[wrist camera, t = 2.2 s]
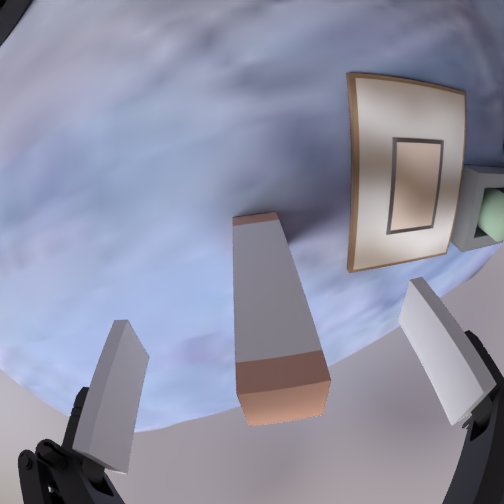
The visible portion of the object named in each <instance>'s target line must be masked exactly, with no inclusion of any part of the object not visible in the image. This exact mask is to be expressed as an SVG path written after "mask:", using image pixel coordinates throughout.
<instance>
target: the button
mask: <svg viewBox="0 0 504 504" xmlns="http://www.w3.org/2000/svg"><path fill="white" fill-rule="evenodd" d="M477 226H478V227H479V228H480V229H482V230H483V231H484V232H485V233H487V234H488V235H489V236H490V237H491V238H493V239H494V240H495V241H496V242H500V241H502V240H504V193H502V192H501V191H499V190H498V189H496V188H485V189H484V194H483V200H482V205H481V210H480V214H479V219H478V223H477Z"/></svg>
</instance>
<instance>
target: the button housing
mask: <svg viewBox="0 0 504 504" xmlns="http://www.w3.org/2000/svg"><path fill="white" fill-rule="evenodd" d="M485 188H496V189H498V190H499V191H501V192H502V193H504V168H501V167H489V166H475V165H463V174H462V182H461V189H460V195H459V201H458V207H457V212H456V217H455V222H454V226H453V231H452V235H451V239H450V242H451V243H453V244H454V245H455V246H456V247H457V248H458V249H459V250H460V251H461V252H465V251H469V250H473V249H477V248H482V247H486V246H490V245H494V244H498V243H502V242H503V240H502V241H500V242H496V241H495V240H494V239H493V238H491V237H490V236H489V235H488V234H487V233H485V232H484V231H483V230H482V229H480V228H479V227H478V226H477V223H478V219H479V214H480V210H481V205H482V200H483V194H484V189H485Z"/></svg>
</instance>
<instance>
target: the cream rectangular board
mask: <svg viewBox="0 0 504 504" xmlns="http://www.w3.org/2000/svg"><path fill="white" fill-rule="evenodd" d="M346 75H347V85H348V97H349V111H350V131H351V211H350V232H349V247H348V260H347V270H348V272H349V273H352V272H358V271H364V270H369V269H375V268H380V267H385V266H391V265H396V264H401V263H406V262H411V261H416V260H421V259H426V258H431V257H435V256H440V255H445V254H447V251H448V247H449V243H450V239H451V235H452V231H453V226H454V222H455V217H456V212H457V207H458V201H459V195H460V189H461V182H462V174H463V165H464V155H465V140H466V92H463V91H459V90H455V89H452V88H448V87H444V86H439V85H435V84H430V83H426V82H420V81H415V80H409V79H403V78H397V77H389V76H381V75H372V74H360V73H346Z"/></svg>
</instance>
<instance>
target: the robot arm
mask: <svg viewBox="0 0 504 504" xmlns="http://www.w3.org/2000/svg"><path fill="white" fill-rule="evenodd" d="M30 1H31V0H0V45H1V43H2V42H3V41H4V39H5V38H6V37H7V35H8V34H9V33H10V31H11V30H12V28H13V27H14V25H15V24H16V23H17V21H18V20H19V18H20V17H21V15H22V14H23V12H24V11H25V9H26V7H27V6H28V4H29V3H30ZM398 322H399V324H400V325H401V327H402V329H403V330H404V332H405V334H406V336H407V337H408V339H409V341H410V343H411V345H412V346H413V348H414V350H415V352H416V354H417V355H418V357H419V359H420V361H421V363H422V365H423V367H424V369H425V371H426V373H427V375H428V377H429V379H430V381H431V383H432V385H433V387H434V389H435V391H436V393H437V395H438V397H439V399H440V401H441V404H442V406H443V408H444V410H445V412H446V414H447V417H448V419H449V421H450V424H451V425H453V424H455V423H457V422H459V421H460V420H462V419H464V418H465V417H466V416H467V415H468V414H469V413H470V412H471V413H472V416H471V417H470V418H469V419H468V420H467V421H466V422H465V423H464V424H463V426H462V428H465V427H466V426H467V425H468V424H469V426H468V427H467V429H468V431H467V434H466V438H465V442H464V446H463V449H462V452H461V456H460V459H459V462H458V465H457V468H456V471H455V474H454V476H453V479H452V482H451V484H450V487H449V489H448V492H447V494H446V496H445V499H444V501H443V503H442V504H504V377H503V376H502V374H501V373H500V371H499V369H498V368H497V366H496V364H495V363H494V361H493V360H492V358H491V357H490V355H489V354H488V352H487V350H486V349H485V347H483V344H482V343H481V341H480V340H479V338H478V337H477V336H476V335H475V334H473V333H472V332H470V330H468V331H466V332H464V331H463V330H462V329H461V327H460V326H459V324H458V323H457V322H456V320H455V319H454V318H453V316H452V315H451V313H450V312H449V311H448V309H447V308H446V307H445V305H444V304H443V303H442V301H441V300H440V299H439V297H438V296H437V295H436V294H435V292H434V291H433V290H432V289H431V287H430V286H429V285H428V284H427V282H426V281H425V280H424V279H423V278H422V277H420V278H415V279H411V280H409V284H408V288H407V292H406V296H405V299H404V303H403V306H402V310H401V313H400V316H399V319H398ZM148 360H149V355H148V354H147V352H146V350H145V349H144V347H143V345H142V344H141V342H140V340H139V339H138V337H137V335H136V333H135V332H134V330H133V328H132V326H131V324H130V323H129V321H128V320H114V323H113V325H112V328H111V330H110V332H109V335H108V337H107V340H106V343H105V345H104V348H103V350H102V353H101V356H100V358H99V361H98V364H97V367H96V370H95V372H94V375H93V378H92V381H91V384H90V387H83V388H82V389H81V390H80V392H79V393H78V394H77V396H76V399H75V402H74V405H73V406H74V408H72V412H71V416H70V418H69V422H68V425H67V429H66V432H65V436H64V440H63V444H62V446H60V445H58V444H57V443H55V442H54V441H52V440H49V439H45V440H42V441H41V442H39V443H38V445H37V447H36V451H35V453H33V452H32V451H30V450H24V451H22V452H21V453H20V455H19V458H18V468H19V477H20V484H21V490H22V495H23V501H24V504H125V503H124V501H123V500H122V498H121V497H120V495H119V494H118V492H117V491H116V489H115V487H114V486H113V484H112V482H111V481H110V479H109V477H108V476H107V474H106V473H105V472H104V469H105V468H107V469H109V470H111V471H113V472H117V473H122V474H128V467H129V460H130V453H131V446H132V440H133V434H134V428H135V423H136V417H137V412H138V407H139V402H140V397H141V392H142V387H143V382H144V378H145V373H146V369H147V365H148ZM48 487H50V488H51V492H49V489H48Z"/></svg>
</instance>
